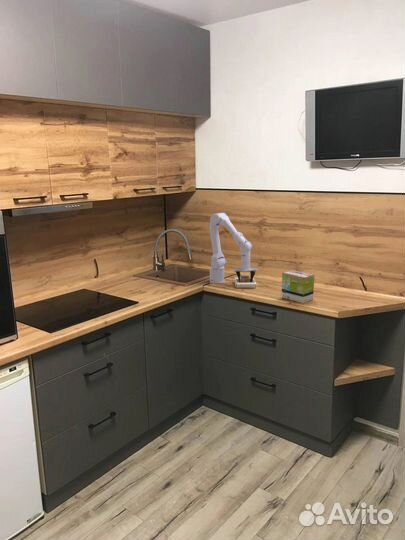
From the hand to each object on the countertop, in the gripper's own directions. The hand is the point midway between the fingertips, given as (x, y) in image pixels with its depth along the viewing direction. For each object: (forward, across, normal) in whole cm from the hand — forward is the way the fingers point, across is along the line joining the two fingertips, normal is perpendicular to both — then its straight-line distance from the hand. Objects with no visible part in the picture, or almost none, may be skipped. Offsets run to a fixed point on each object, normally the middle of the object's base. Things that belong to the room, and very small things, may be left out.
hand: (245, 283), depth 285 cm
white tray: (+2, 0, 0) cm, 2 cm away
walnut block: (+1, 0, 0) cm, 1 cm away
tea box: (+2, +26, -29) cm, 39 cm away
